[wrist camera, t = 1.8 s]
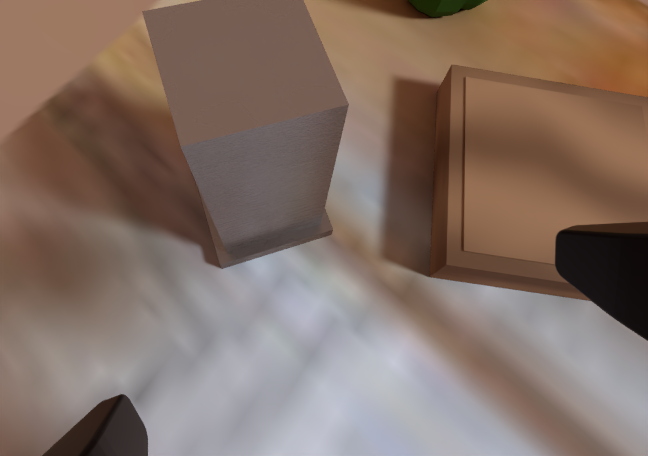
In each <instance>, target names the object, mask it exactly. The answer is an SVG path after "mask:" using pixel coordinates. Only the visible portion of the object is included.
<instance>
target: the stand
mask: <svg viewBox="0 0 648 456" xmlns="http://www.w3.org/2000/svg"><path fill="white" fill-rule="evenodd" d="M629 222H648V97H642V96H636V95H630V94H624V93H619V92H613V91H607V90H601V89H595V88H589V87H583V86H577V85H571V84H565V83H559V82H553V81H547V80H541V79H535V78H529V77H523V76H517V75H511V74H505V73H499V72H494V71H488V70H482V69H476V68H470V67H464V66H458V65H451V67H450V69H449V71H448V73H447V74H446V76H445V78H444V80H443V82H442V84H441V86H440V88H439V90H438V92H437V106H436V131H435V156H434V181H433V205H432V230H431V255H430V277H433V278H440V279H447V280H453V281H460V282H467V283H474V284H481V285H487V286H494V287H501V288H508V289H514V290H521V291H528V292H535V293H541V294H548V295H555V296H562V297H569V298H575V299H582V300H589V301H591V300H590V299H588V298H587V297H586V296H585V295H583V294H582V293H581V292H580V291H578V290H577V289H576V288H575V287H573V286H572V285H571V284H570V283H568V282H567V281H566V280H565V279H563V278H562V277H561V276H560V275H559V273H558V272H557V270H556V267H555V239H556V235H557V233H558V232H559V231H561V230H563V229H566V228H568V227H571V226H575V225H589V224H609V223H629Z"/></svg>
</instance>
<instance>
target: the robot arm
mask: <svg viewBox="0 0 648 456" xmlns="http://www.w3.org/2000/svg"><path fill="white" fill-rule="evenodd" d="M555 267H556V270H557V272H558V273H559V275H560V276H561V277H562V278H563V279H565V280H566V281H567V282H568V283H570V284H571V285H572V286H573V287H575V288H576V289H577V290H578V291H580V292H581V293H582V294H583V295H585V296H586V297H587V298H588V299H590V300H591V301H592V302H594V303H595V304H596V305H597V306H599V307H600V308H601V309H602V310H604V311H605V312H606V313H608V314H609V315H610V316H612V317H613V318H614V319H616V320H617V321H619V322H620V323H622V324H623V325H624V326H626V327H627V328H629V329H631V330H632V331H634V332H635V333H637V334H638V335H640V336H641V337H643V338H644V339H646V340H647V341H648V222H629V223H609V224H589V225H575V226H571V227H568V228H566V229H563V230H561V231H559V232H558V233H557V235H556V239H555ZM42 456H148V437H147V432H146V428H145V426H144V423H143V422H142V420H141V418H140V417H139V415H138V413H137V411H136V410H135V408H134V406H133V404H132V403H131V401H130V399H129V398H128V397H127V396H126V395H124V394H121V395H118V396H115V397H112V398H110V399H107V400H104V401H102V402H100V403H99V404H98V405H97V406H96V407H95V408H93V409H92V410H91V411H90V412H89V413H88V414H87V415H86V416H85V417H84V418H83V419H81V420H80V421H79V422H78V423H77V424H76V425H75V426H74V427H73V428H72V429H71V430H70V431H68V432H67V433H66V434H65V435H64V436H63V437H62V438H61V439H60V440H59V441H58V442H56V443H55V444H54V445H53V446H52V447H51V448H50V449H49V450H48V451H47V452H46V453H44V454H43V455H42Z"/></svg>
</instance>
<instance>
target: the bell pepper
mask: <svg viewBox="0 0 648 456" xmlns="http://www.w3.org/2000/svg"><path fill="white" fill-rule="evenodd" d="M408 1H409V2H410V3H411V4H412V5H413V6H414V7H415V8H416V9H417V10H418V11H420V12H423V13H425V14H427V15H429V16H431V17H439V16H449V15H453V14H455V13H456V12H458V11H459V10H460V9H466V10H470V9H472V8H474V7H476V6H478V5H480V4H482V3H484V2H485V1H487V0H408Z"/></svg>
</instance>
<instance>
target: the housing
mask: <svg viewBox="0 0 648 456" xmlns="http://www.w3.org/2000/svg"><path fill="white" fill-rule="evenodd" d="M143 16H144V19H145V23H146V26H147V30H148V33H149V37H150V40H151V44H152V48H153V51H154V55H155V58H156V62H157V65H158V69H159V72H160V76H161V79H162V83H163V86H164V90H165V94H166V97H167V101H168V104H169V108H170V111H171V115H172V118H173V122H174V125H175V129H176V132H177V136H178V140H179V143H180V147H181V149H182V151H183V154H184V156H185V158H186V160H187V163H188V165H189V167H190V169H191V172H192V174H193V176H194V179H195V181H196V184H197V187H198V191H199V194H200V198H201V201H202V205H203V208H204V212H205V215H206V219H207V222H208V226H209V229H210V232H211V236H212V239H213V243H214V246H215V250H216V253H217V257H218V260H219V264H220V266H221V268H222V269H223V268H226V267H230V266H233V265H236V264H239V263H242V262H246V261H249V260H252V259H255V258H258V257H262V256H265V255H268V254H271V253H274V252H278V251H281V250H284V249H287V248H290V247H294V246H297V245H300V244H303V243H306V242H310V241H313V240H316V239H319V238H322V237H326V236H329V235H331V234H332V231H333V228H332V226H331V223H330V221H329V218H328V215H327V213H326V210H325V204H326V200H327V195H328V191H329V187H330V182H331V178H332V174H333V170H334V165H335V161H336V157H337V152H338V148H339V144H340V140H341V135H342V131H343V127H344V123H345V118H346V114H347V110H348V105H349V104H348V102H347V99H346V97H345V95H344V93H343V90H342V88H341V86H340V83H339V81H338V79H337V77H336V74H335V72H334V70H333V67H332V65H331V63H330V61H329V58H328V56H327V54H326V51H325V49H324V47H323V44H322V42H321V40H320V38H319V35H318V33H317V31H316V28H315V26H314V24H313V22H312V19H311V17H310V15H309V12H308V10H307V8H306V5H305V3H304V1H303V0H201V1H196V2H190V3H185V4H179V5H174V6H169V7H163V8H158V9H153V10H147V11H143Z"/></svg>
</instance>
